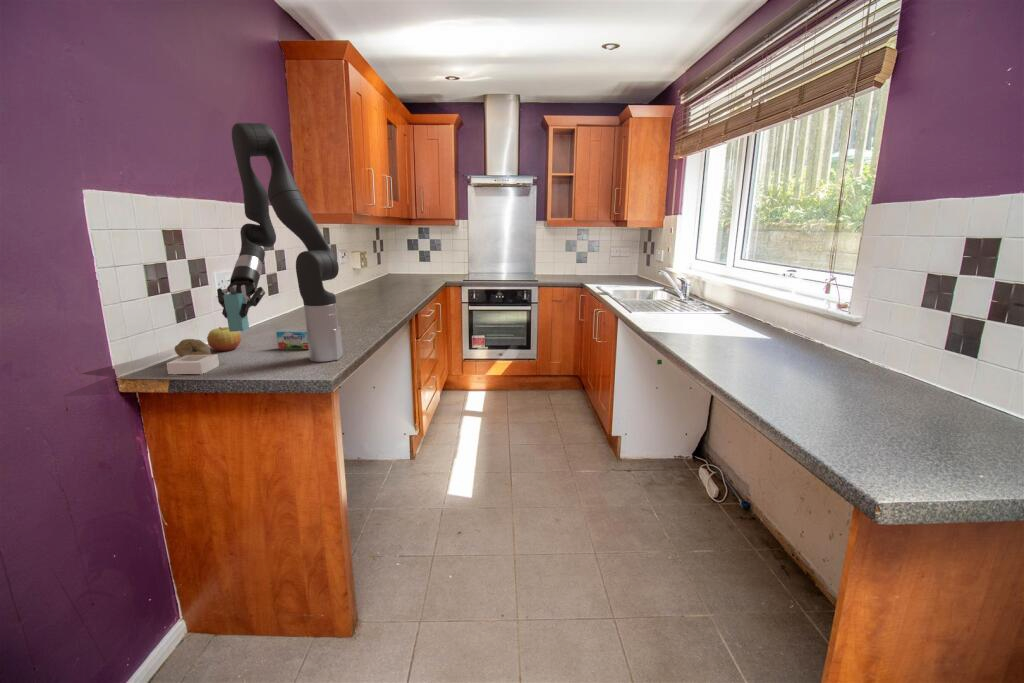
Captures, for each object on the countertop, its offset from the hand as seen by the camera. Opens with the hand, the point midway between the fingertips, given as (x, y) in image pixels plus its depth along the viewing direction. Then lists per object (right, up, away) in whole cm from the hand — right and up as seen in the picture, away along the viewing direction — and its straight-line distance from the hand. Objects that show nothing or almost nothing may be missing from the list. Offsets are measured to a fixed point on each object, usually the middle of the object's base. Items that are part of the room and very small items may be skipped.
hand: (233, 316), depth 140 cm
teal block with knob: (0, -4, +3) cm, 5 cm away
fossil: (-15, -14, +6) cm, 21 cm away
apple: (-14, -10, +20) cm, 27 cm away
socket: (-8, -16, -5) cm, 19 cm away
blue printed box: (+10, -10, +19) cm, 24 cm away
